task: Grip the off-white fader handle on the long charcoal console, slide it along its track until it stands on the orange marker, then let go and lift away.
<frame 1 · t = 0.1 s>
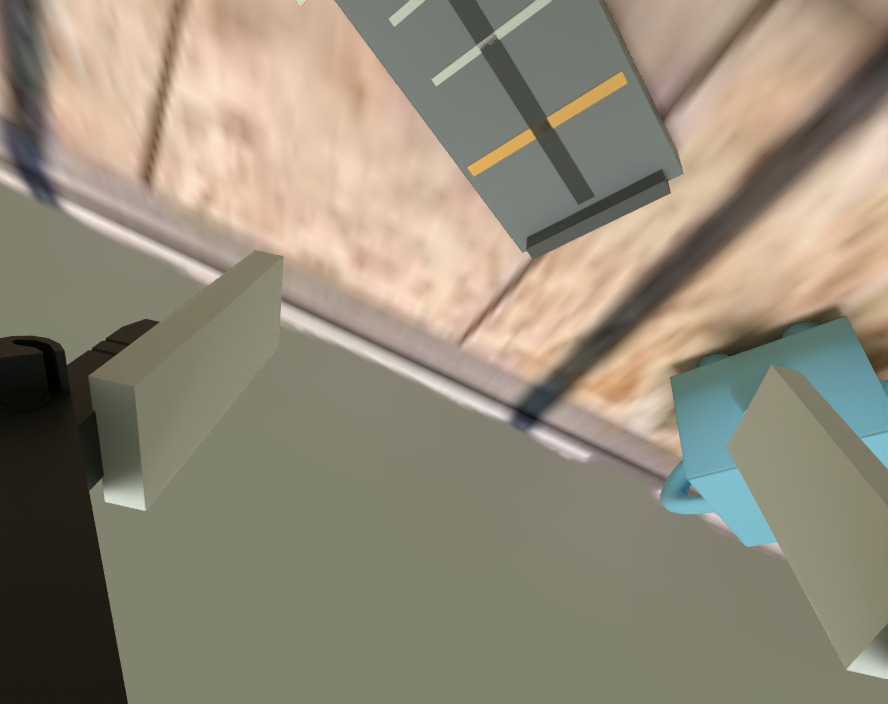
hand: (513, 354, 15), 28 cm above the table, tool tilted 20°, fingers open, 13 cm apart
fader console: (493, 25, 35), on the table
teakettle: (783, 368, 51), on the table
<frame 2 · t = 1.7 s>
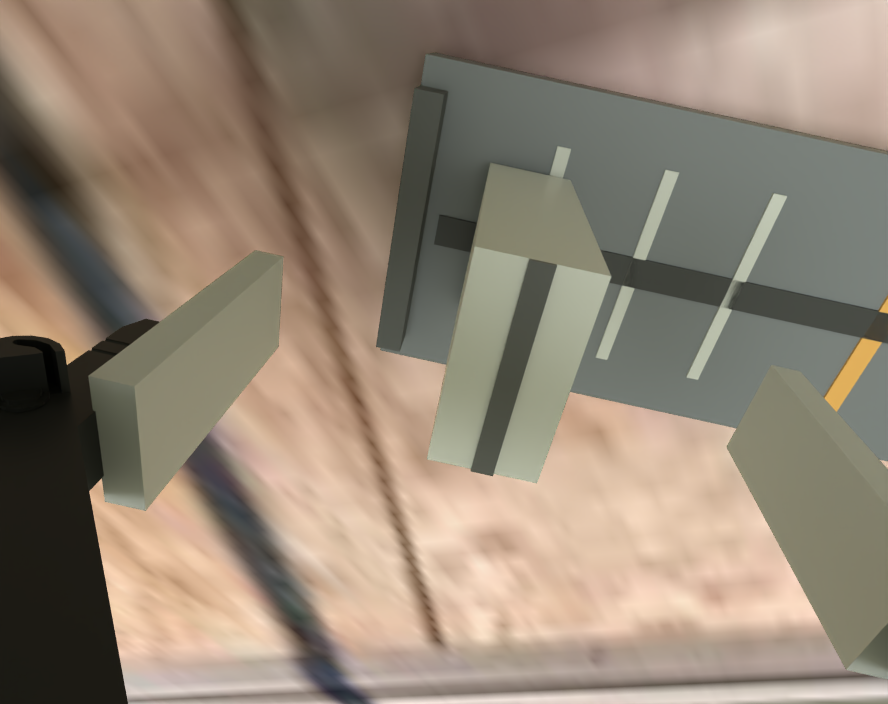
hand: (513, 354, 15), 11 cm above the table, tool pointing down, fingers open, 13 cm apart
fader console: (708, 267, 25), on the table
fader handle: (510, 298, 18), point 8 cm above the table, slide at -9.0 cm
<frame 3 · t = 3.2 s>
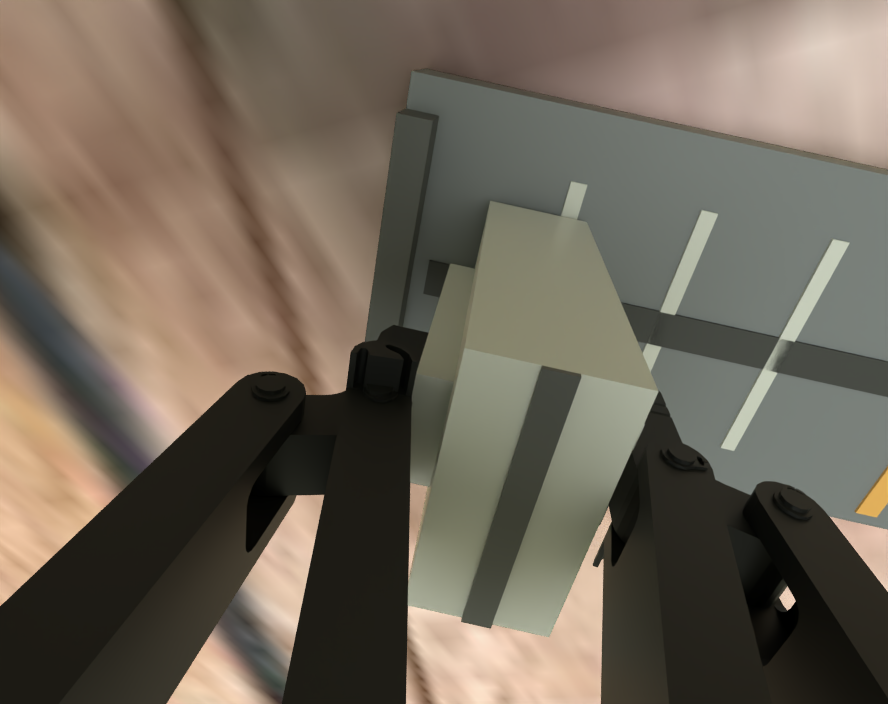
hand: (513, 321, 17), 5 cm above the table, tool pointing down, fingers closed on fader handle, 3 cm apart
fader console: (745, 317, 22), on the table
fader handle: (513, 375, 14), point 8 cm above the table, slide at -9.0 cm, touching gripper
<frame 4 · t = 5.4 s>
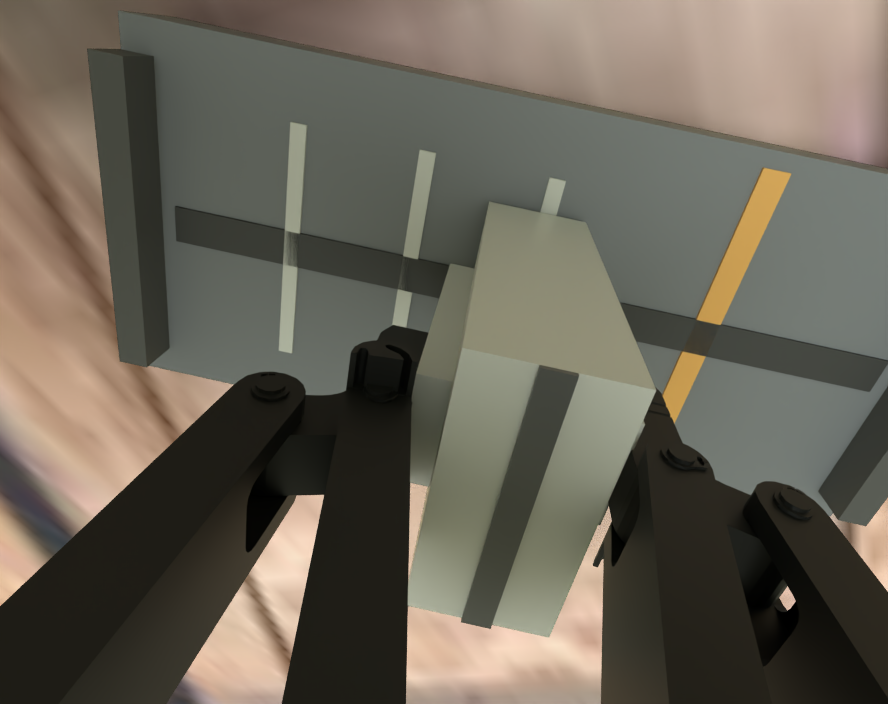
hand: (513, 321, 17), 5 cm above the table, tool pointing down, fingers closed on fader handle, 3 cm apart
fader console: (523, 269, 22), on the table
fader handle: (513, 376, 14), point 8 cm above the table, slide at -0.4 cm, touching gripper
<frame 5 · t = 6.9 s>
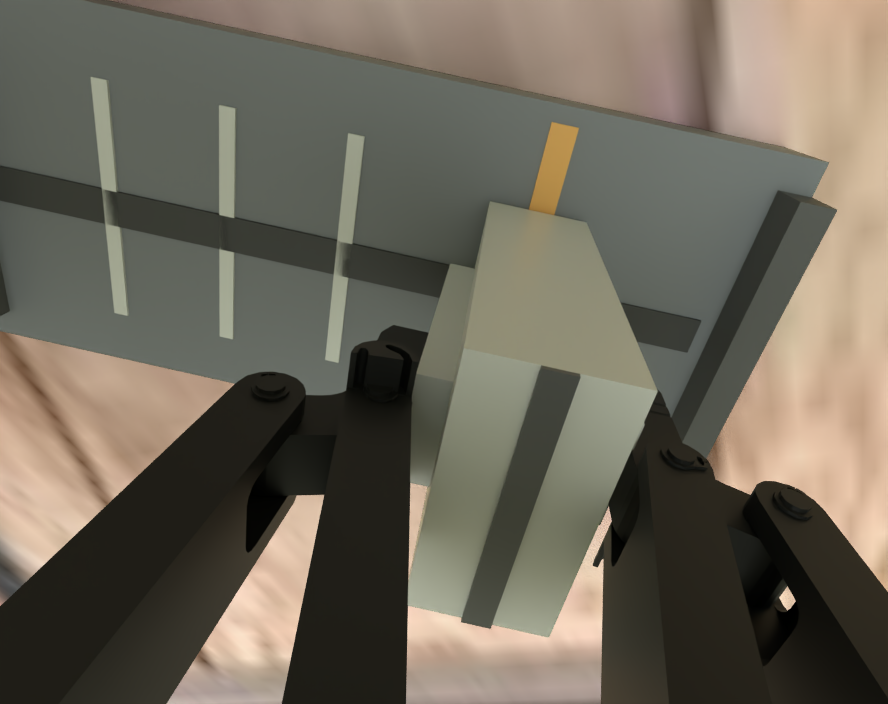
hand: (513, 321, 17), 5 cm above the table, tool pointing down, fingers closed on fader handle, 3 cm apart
fader console: (364, 233, 22), on the table
fader handle: (513, 376, 14), point 8 cm above the table, slide at 5.9 cm, touching gripper
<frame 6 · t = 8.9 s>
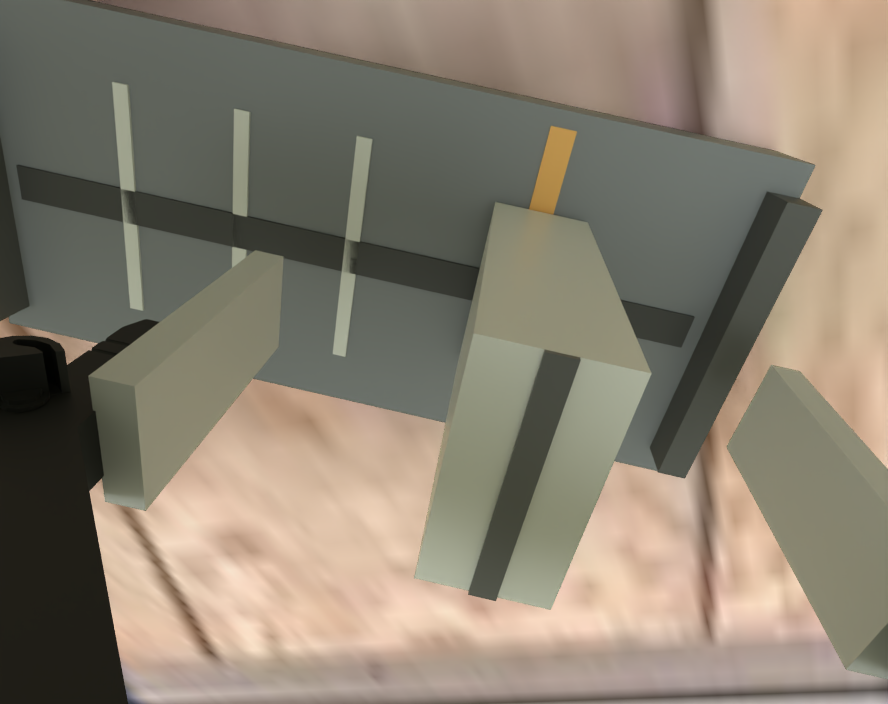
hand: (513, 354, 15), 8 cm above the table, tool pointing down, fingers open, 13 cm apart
fader console: (370, 232, 22), on the table
fader handle: (517, 367, 15), point 8 cm above the table, slide at 6.0 cm
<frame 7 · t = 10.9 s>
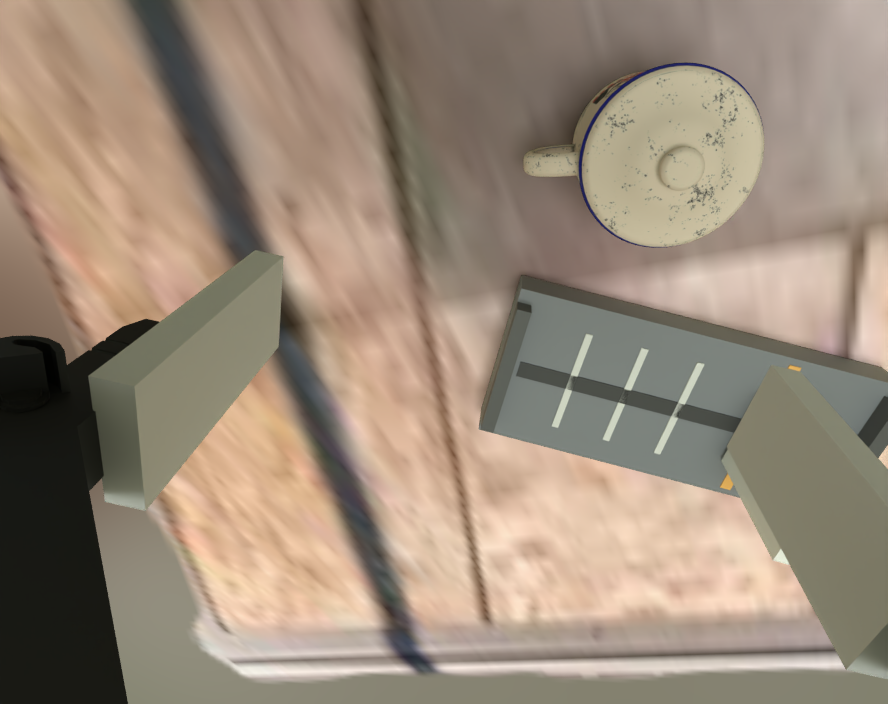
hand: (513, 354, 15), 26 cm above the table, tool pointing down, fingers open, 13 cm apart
fader console: (668, 389, 44), on the table
teacup with lid: (615, 146, 37), on the table
fader handle: (788, 476, 36), point 8 cm above the table, slide at 6.0 cm
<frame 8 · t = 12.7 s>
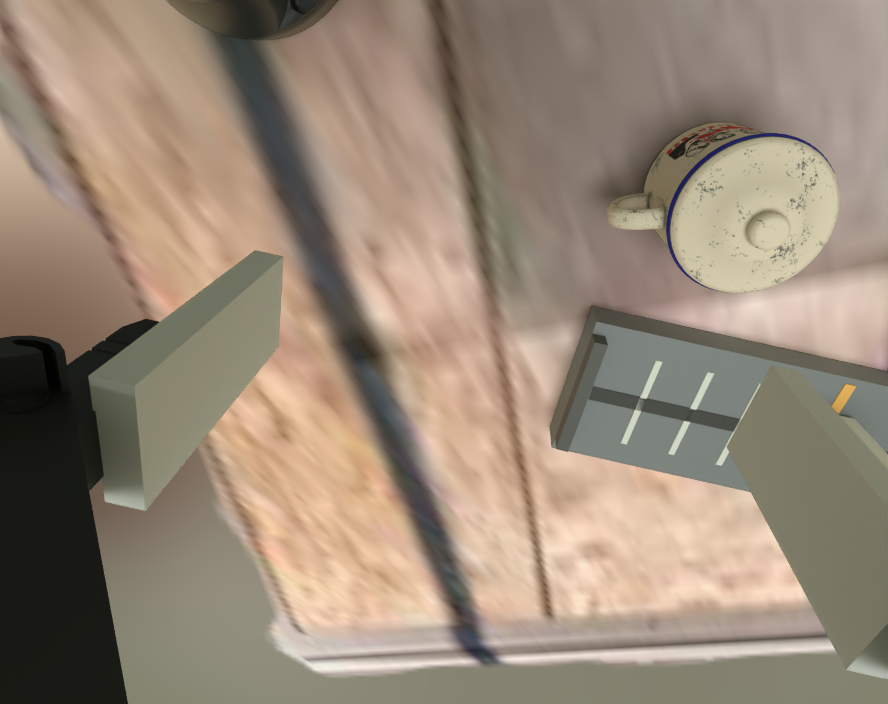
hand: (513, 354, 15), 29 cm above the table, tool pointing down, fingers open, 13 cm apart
fader console: (726, 405, 47), on the table
teacup with lid: (683, 188, 40), on the table
fader handle: (848, 487, 40), point 8 cm above the table, slide at 6.0 cm
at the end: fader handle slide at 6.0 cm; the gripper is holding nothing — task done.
